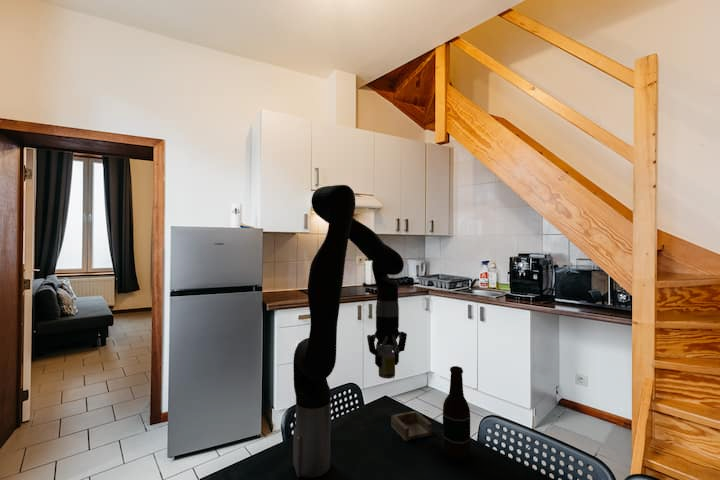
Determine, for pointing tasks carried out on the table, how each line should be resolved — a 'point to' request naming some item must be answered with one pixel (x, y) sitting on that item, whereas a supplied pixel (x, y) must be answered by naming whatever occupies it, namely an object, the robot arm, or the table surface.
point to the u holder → (411, 425)
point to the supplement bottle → (387, 363)
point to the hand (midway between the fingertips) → (387, 365)
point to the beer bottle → (456, 418)
